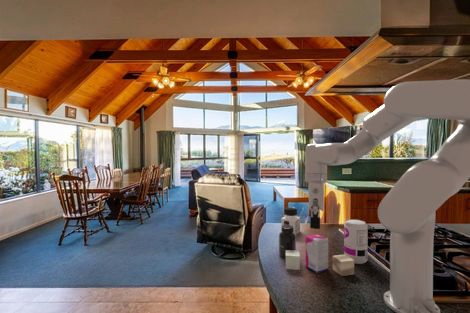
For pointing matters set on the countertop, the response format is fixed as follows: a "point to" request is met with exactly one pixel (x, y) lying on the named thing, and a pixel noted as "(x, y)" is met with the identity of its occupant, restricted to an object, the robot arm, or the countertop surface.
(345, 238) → the supplement can
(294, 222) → the container
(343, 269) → the birch block
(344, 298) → the countertop surface
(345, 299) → the countertop surface
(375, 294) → the countertop surface
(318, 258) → the supplement box
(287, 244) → the supplement bottle
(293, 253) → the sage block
